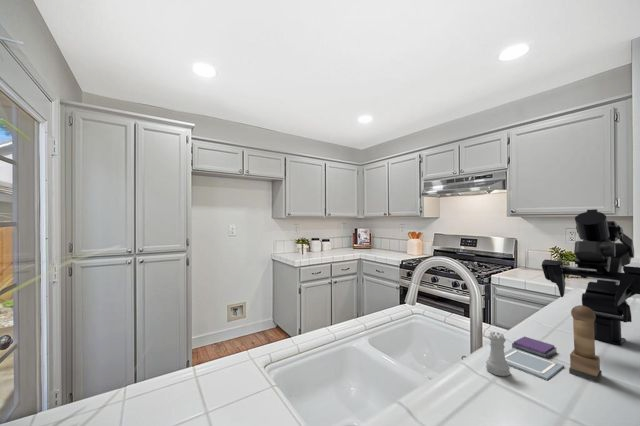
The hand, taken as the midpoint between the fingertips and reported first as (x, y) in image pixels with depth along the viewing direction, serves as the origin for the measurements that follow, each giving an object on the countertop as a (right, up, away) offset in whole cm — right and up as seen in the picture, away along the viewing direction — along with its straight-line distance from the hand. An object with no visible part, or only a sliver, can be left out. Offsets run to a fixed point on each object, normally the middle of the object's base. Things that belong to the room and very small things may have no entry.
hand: (587, 300), depth 63 cm
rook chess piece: (-24, -14, -4) cm, 28 cm away
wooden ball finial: (-6, -14, -5) cm, 16 cm away
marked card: (-14, -14, -1) cm, 20 cm away
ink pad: (-8, -15, +6) cm, 18 cm away
